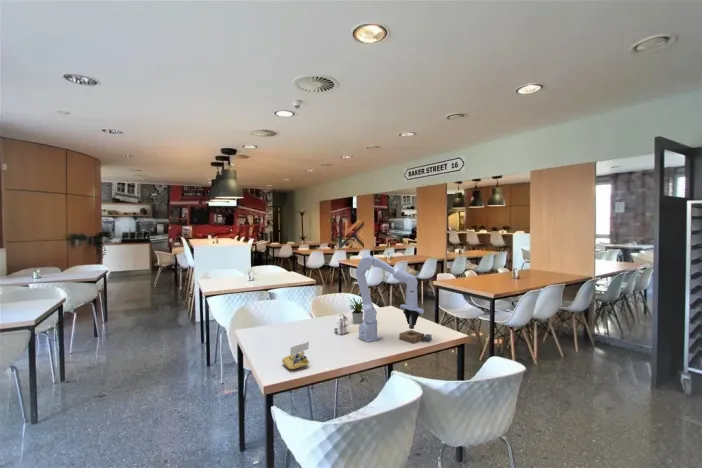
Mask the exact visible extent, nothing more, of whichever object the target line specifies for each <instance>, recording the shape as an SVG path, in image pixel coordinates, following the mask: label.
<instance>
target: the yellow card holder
mask: <svg viewBox="0 0 702 468" xmlns="http://www.w3.org/2000/svg"><path fill="white" fill-rule="evenodd" d="M309 343H310V341H307V342H305V343H304V342H303V343H301V344H298V345H295V346H291V347H290V353H289V354H290V355H287V356H285V357H283V358H282V360H281V362H282V364H284V366H286V368H287V369H290V370H293V369H294V370H295V369H298V368H301V367H305V366H307V365H308V364H310V360H309V359H308V357H307V356H306V355H305V351H307V350H309Z"/></svg>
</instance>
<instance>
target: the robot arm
mask: <svg viewBox="0 0 702 468" xmlns="http://www.w3.org/2000/svg"><path fill="white" fill-rule="evenodd" d="M371 267H373V268H380V269H382V270H384V271H386V272H388V273H390V274H392V278H394V279H396V280H398V281H399V282H401V283H403V284H406V289H405V295H406V296H405V304H400V305H399V307H400V309H403V311H402V312H403V314H404V316H405V319H406V321H407V325H409V316H410V314H411V318H412V325H413V326H414V327H415V326H416V325H417V321H418V318H419V316H420V315H423V314H424V313H425V311H424V309H423V308H421V307H419V305H418V284H419V282H418V279H417V277H416V276H415V275H413V274H412V273H411V272H407V271H405V270H404V269H403V267H396V268H395V267H393V266H391V265H390V264H388V263H386V261H384V260H382V259H380V258H378V257H376V256H372V255H371V254H367V253H366V254H364V255H363V256H362V258H361V259H360V261H359V262H358V265H357V267H356V270H355V276H356V281H357V285H358V289H359V293H360V298H361V302H363V304H362V306H363V307H364V308H363V321H362V323H359V324H358V337H357V339H358V340H361V341H364V342H367V343H369V342H372V341H376V340H379V339H381V336H379V335H378V320H377V314H378V313H377V310H376V308H375V307H374V304H373V301H372V297H371V294H370V290H369V285H368V282H367V281H368V280H367V277H366V273H367V271H368V270H369V269H370V268H371Z"/></svg>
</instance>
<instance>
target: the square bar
mask: <svg viewBox="0 0 702 468" xmlns="http://www.w3.org/2000/svg"><path fill="white" fill-rule="evenodd" d="M432 340H433V339H432V334H429V333H426V334H424V337H423V340H422V342H425V343H429V342H431V341H432Z"/></svg>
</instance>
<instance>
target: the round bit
mask: <svg viewBox="0 0 702 468" xmlns="http://www.w3.org/2000/svg"><path fill="white" fill-rule="evenodd" d="M408 328H409V330H414V329H415V325H414V326H413V325H412V318H411V314H410V316H409V324H408Z"/></svg>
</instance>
